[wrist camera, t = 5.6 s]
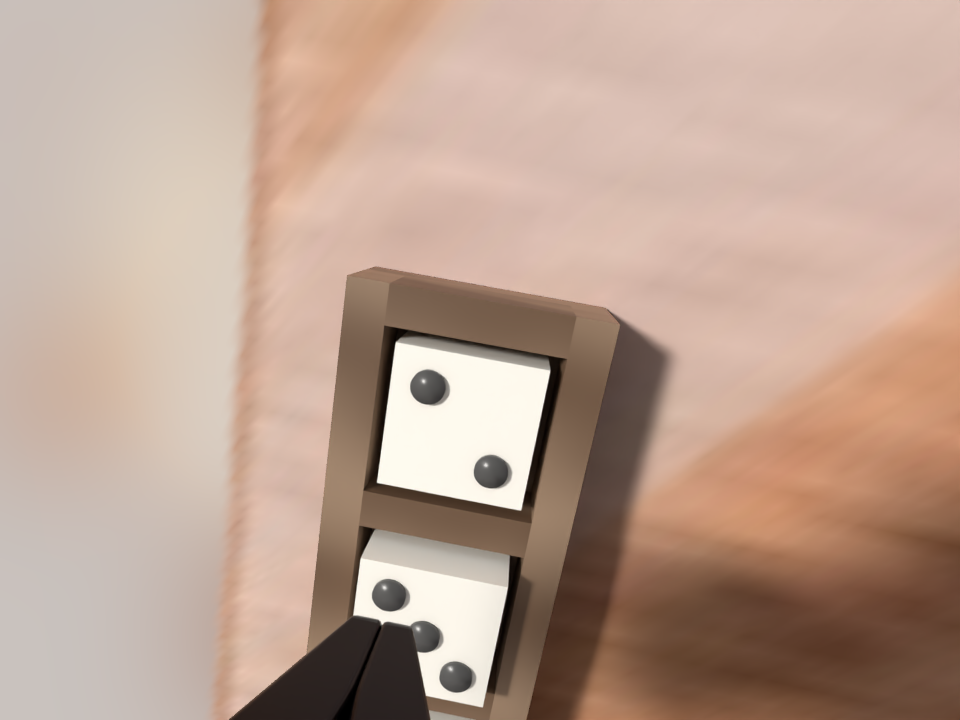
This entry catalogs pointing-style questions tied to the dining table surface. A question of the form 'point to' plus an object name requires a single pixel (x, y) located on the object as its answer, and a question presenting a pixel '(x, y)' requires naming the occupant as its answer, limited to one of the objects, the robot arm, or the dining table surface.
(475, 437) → the tile two
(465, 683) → the tile three
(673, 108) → the dining table surface
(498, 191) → the dining table surface
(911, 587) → the dining table surface
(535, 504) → the button board
